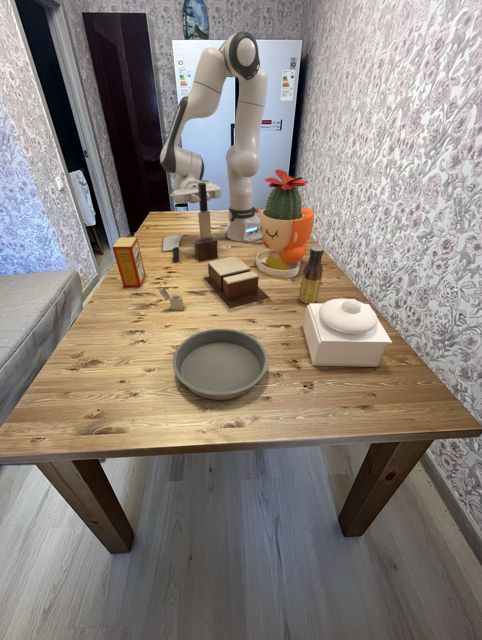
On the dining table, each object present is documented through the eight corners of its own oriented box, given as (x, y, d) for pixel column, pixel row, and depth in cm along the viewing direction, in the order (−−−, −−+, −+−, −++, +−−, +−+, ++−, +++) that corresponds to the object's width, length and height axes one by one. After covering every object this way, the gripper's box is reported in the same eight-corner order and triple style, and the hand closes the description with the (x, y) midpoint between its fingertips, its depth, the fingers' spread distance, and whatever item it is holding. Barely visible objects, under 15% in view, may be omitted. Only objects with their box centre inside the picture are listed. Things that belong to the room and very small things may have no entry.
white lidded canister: (302, 326, 90) (311, 281, 79) (359, 327, 90) (376, 282, 79) (312, 365, 77) (325, 317, 66) (379, 367, 76) (403, 318, 66)
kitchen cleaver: (163, 235, 148) (182, 232, 148) (164, 238, 149) (183, 235, 149) (159, 261, 125) (181, 257, 125) (160, 264, 126) (182, 261, 126)
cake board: (203, 279, 114) (203, 277, 113) (238, 271, 119) (238, 269, 118) (229, 311, 97) (229, 308, 96) (270, 300, 102) (270, 297, 101)
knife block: (213, 253, 133) (212, 236, 127) (217, 258, 129) (217, 240, 124) (195, 257, 130) (193, 239, 124) (199, 261, 126) (197, 243, 121)
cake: (208, 277, 113) (207, 261, 109) (235, 271, 117) (235, 256, 112) (220, 291, 105) (220, 274, 101) (249, 284, 109) (250, 268, 104)
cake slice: (223, 294, 103) (223, 277, 99) (252, 287, 107) (253, 270, 103) (228, 299, 101) (228, 282, 96) (257, 292, 104) (258, 275, 100)
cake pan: (191, 420, 64) (189, 408, 61) (164, 353, 81) (162, 341, 78) (284, 386, 71) (286, 374, 68) (242, 331, 88) (242, 320, 85)
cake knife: (199, 241, 125) (194, 183, 110) (210, 239, 126) (206, 182, 111) (201, 243, 123) (196, 185, 108) (212, 241, 124) (209, 183, 110)
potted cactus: (272, 282, 112) (283, 180, 89) (247, 260, 127) (250, 168, 104) (317, 271, 118) (338, 174, 95) (288, 252, 134) (299, 164, 110)
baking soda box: (129, 275, 117) (119, 236, 106) (145, 275, 117) (136, 236, 106) (123, 287, 110) (112, 246, 99) (140, 286, 110) (130, 245, 99)
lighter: (183, 307, 99) (181, 286, 94) (183, 309, 98) (180, 289, 92) (163, 307, 99) (159, 286, 94) (162, 310, 98) (158, 289, 92)
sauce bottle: (304, 295, 104) (315, 241, 91) (319, 302, 101) (332, 247, 87) (294, 302, 101) (303, 247, 87) (309, 309, 97) (321, 253, 84)
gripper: (167, 185, 117) (177, 193, 107) (213, 180, 123) (226, 186, 114) (169, 202, 121) (179, 211, 111) (214, 196, 127) (226, 204, 118)
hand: (203, 198), depth 113 cm, fingers closed on cake knife, 2 cm apart
